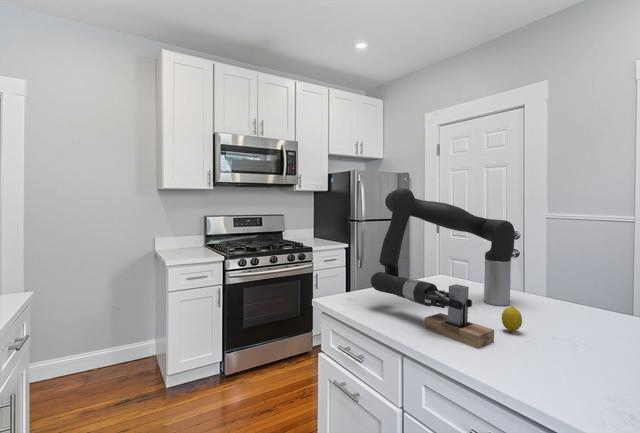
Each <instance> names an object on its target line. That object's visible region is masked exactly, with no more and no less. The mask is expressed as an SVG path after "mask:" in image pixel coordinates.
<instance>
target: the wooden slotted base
mask: <svg viewBox="0 0 640 433" xmlns="http://www.w3.org/2000/svg"><path fill="white" fill-rule="evenodd" d="M424 329H426V330H428V331H430V332H434V333H437V334H438V335H441V336H444V337H446V338H450V339H452V340H454V341H457V342H460V343H463V344H466V345H468V346H471V347H473V348H476V349H481V348H483V347H485V346H488V345H490V344H492V343H494V342H495V329H493V328H489V327H487V326H484V325H481V324H476V323H474V322H470V321H468V323H467V327H463V328H458V327H455V326H452V325H449V324H448V314H445V313H442V312H438V313H436V314H432V315H429V316H425V317H424Z"/></svg>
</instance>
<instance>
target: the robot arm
mask: <svg viewBox="0 0 640 433" xmlns="http://www.w3.org/2000/svg"><path fill="white" fill-rule="evenodd" d="M384 202H385V206H386V208H387V210H388V211H390V213H391V212H392V213H391V220H390V223H389V227H388V230H387V232H386V233H385V237H384V238H383V242H382V244H381V249H380V254H379V260H378V261H379V262H378V263H379V264H380V265H381V266H382V267H384V272H382V271H377V272H375V273H374V274H372V275H371V278H370V284H371V287H372V288H373V289H374V290H375V291H378V292H380V293H385V294H392V295H394V296H397V297H399V298H403V299H405V300H408V301H410V302H413V303H416V304H419V305H422V306H426V307H435V308H441V309H445V308H447V309H448V308H449V307H452V308H455V309H458V310H462V309H463V303H462V302H459V301H455V300H450V299H449V298H448V296H449V291H445V290H443V289H438V287H437V285H436V284H435V283H431V282H427V281H423V280H419V279H416V278H415V279H412V278H408V277H405V276H399V260H400V256H401V248H402V244H403V240H404V237H405V236H404V235H405V232H406V228H407V226H408V222H409V219H410V217H414V218H417V219H420V220H421V221H424V222H428V223H430V224H433V225H436V226H439V227H441V228H446V229H448V230H453V231H457V232H464V233H469V234H472V235H475V236H476V237H479V238H481V239H484V240H486V241H488V242H491V245H490V249H488V251H486V252H485V253H484V279H483V280H484V281H483V282H484V284H483V302H484V303H487V304H488V305H492V306H500V307H501V306H504V307H505V306H509V305H510V303H511V283H512V282H511V276H512V275H511V274H512V273H511V272H512V271H511V270H512V269H511V267H512V265H511V264H512V263H511V262H512V256H513V254H514V249H515V239H516V238H515V236H516V233H515V230H516V229H515V227H514V225H513V223H512V222H510V221H508V220H505V219H491V218H487V217H482V216H477V215H474V214H472V213H470V212H469V211H467V210H465V209H463V208H461V207H460V206H459V207H458V206H456V205H452V204H449V203H445V202H438V201H433V200H432V201H431V200H430V201H429V200H422V199H418V198H416V197H415V195H414V193H413V191H412V190H411V189H408V188H405V187H403V188H398V189H394V190H392V191H390V192H389V193H388V194H387V195H386V197H385V200H384ZM472 307H473V301H472V299H470V298H468V308H472Z"/></svg>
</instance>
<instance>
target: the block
mask: <svg viewBox="0 0 640 433" xmlns="http://www.w3.org/2000/svg"><path fill="white" fill-rule="evenodd" d="M469 289H470V288H469V286H466V285H462V284H458V283H457V284H456V283H455V284H451V285H448V292H449V296H448V298H449V299H450V300H455V301H459V302H462V303H463V309H462V310H458V309H455V308H452V307H449V308H448V307H447V315H448V324H449V325H452V326H455V327H458V328H463V327H467V323H468V322H469V320H468V319H469V318H468V316H469V307H468V299H469Z"/></svg>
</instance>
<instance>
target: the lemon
mask: <svg viewBox="0 0 640 433" xmlns="http://www.w3.org/2000/svg"><path fill="white" fill-rule="evenodd" d="M501 322H502V323H501V324H502V325H503V327H504V328H505V329H507V330H508V331H509V332H510V333H513V332H515V331H517V330H519V329H520V328H521V327H522V323H523V317H522V314H521V312H520V310H518V309H517V308H515V307H514V306H509V307H506V308H505V309H503V311H502V314H501Z"/></svg>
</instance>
